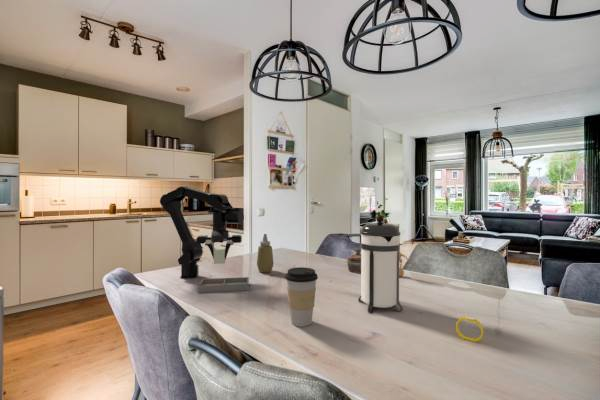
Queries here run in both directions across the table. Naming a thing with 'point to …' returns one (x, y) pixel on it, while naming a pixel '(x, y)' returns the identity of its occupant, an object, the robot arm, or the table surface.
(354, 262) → the cupcake
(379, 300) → the coffee press
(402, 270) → the figurine
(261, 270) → the squeeze bottle
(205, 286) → the board
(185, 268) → the robot arm
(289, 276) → the coffee cup
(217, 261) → the sage block
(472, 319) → the yellow ring
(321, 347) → the table surface
